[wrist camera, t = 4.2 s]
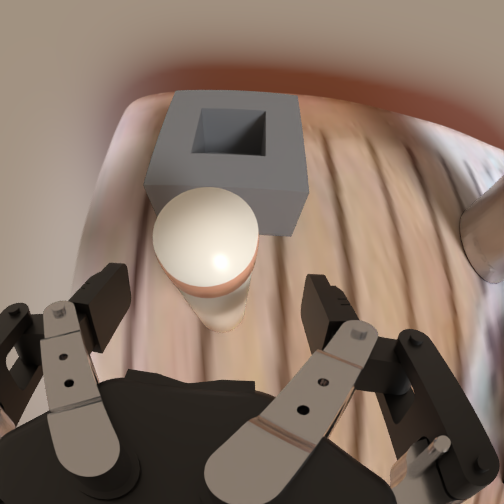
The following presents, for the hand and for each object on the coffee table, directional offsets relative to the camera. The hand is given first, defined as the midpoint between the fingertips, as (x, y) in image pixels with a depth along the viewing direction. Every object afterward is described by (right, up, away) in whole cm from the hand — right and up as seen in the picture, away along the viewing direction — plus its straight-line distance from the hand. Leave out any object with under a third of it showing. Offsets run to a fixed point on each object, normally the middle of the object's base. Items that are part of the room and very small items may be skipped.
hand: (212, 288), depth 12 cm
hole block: (0, +8, +12) cm, 14 cm away
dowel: (0, -2, +7) cm, 8 cm away
